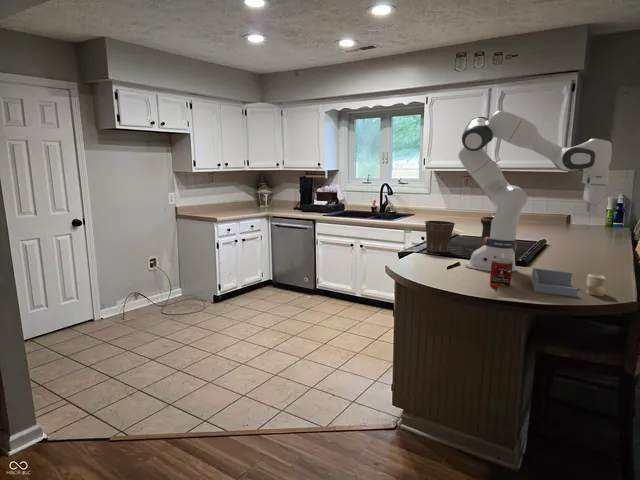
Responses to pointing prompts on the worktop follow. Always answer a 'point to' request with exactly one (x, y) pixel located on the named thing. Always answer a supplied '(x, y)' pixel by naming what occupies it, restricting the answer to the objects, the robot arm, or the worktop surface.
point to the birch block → (595, 285)
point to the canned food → (501, 272)
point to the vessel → (486, 228)
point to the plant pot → (438, 235)
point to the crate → (553, 282)
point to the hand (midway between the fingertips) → (590, 213)
